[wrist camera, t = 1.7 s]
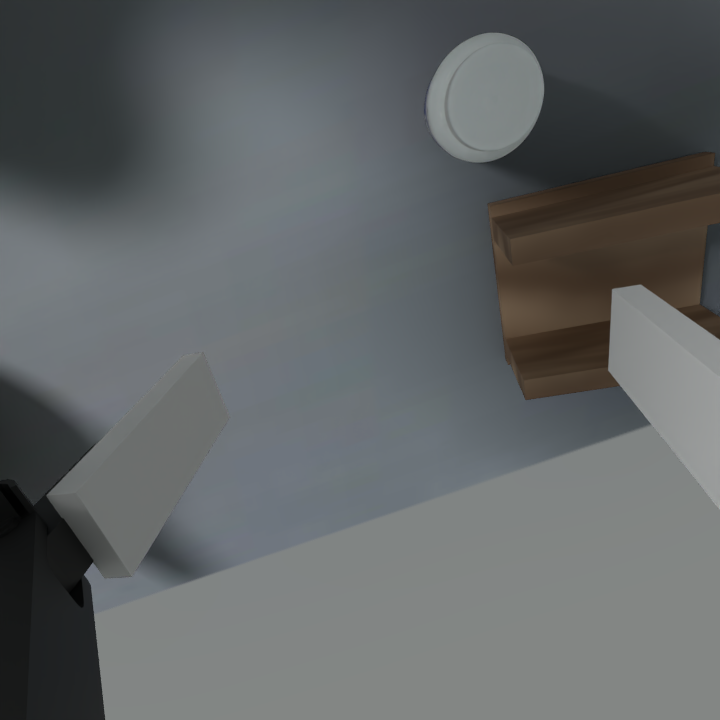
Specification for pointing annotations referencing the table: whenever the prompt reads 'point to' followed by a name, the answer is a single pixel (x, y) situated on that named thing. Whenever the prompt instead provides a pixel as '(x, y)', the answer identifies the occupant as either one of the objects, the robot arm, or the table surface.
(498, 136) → the pill bottle
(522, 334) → the u rest
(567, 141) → the table surface
